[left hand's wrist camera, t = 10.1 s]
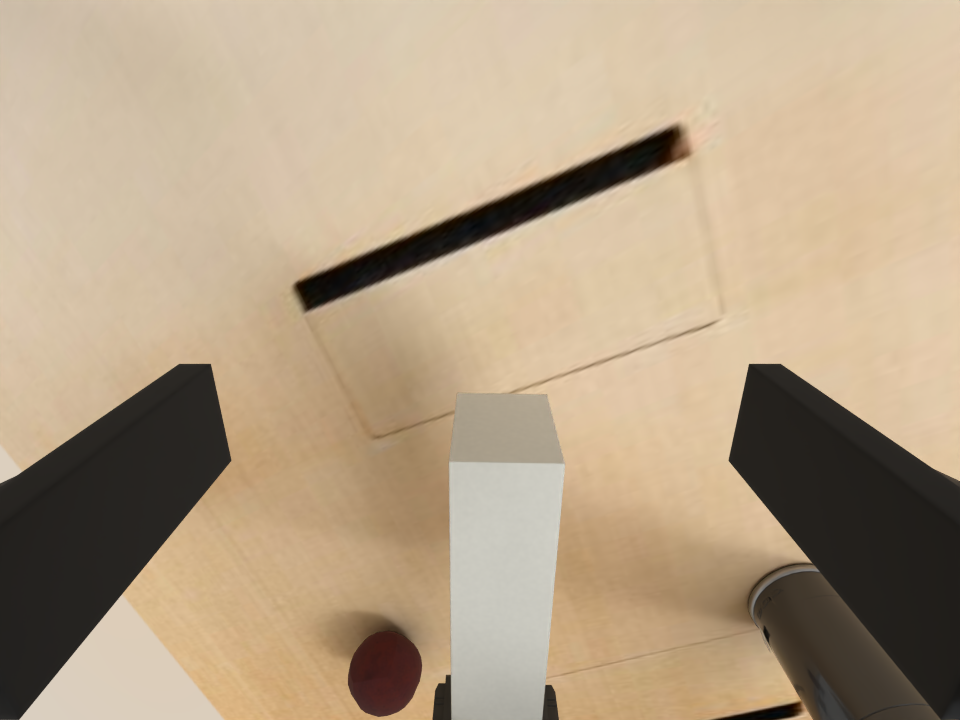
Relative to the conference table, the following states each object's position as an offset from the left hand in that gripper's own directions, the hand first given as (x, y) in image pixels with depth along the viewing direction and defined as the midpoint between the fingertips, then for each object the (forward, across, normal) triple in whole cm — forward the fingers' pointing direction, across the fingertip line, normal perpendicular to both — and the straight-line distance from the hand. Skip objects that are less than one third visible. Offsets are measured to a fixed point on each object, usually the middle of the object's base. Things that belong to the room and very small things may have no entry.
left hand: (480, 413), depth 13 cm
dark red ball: (+29, -10, -43) cm, 53 cm away
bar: (+18, +1, -20) cm, 27 cm away
